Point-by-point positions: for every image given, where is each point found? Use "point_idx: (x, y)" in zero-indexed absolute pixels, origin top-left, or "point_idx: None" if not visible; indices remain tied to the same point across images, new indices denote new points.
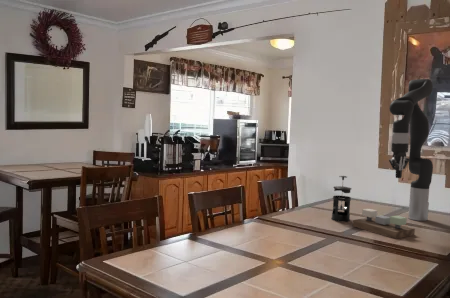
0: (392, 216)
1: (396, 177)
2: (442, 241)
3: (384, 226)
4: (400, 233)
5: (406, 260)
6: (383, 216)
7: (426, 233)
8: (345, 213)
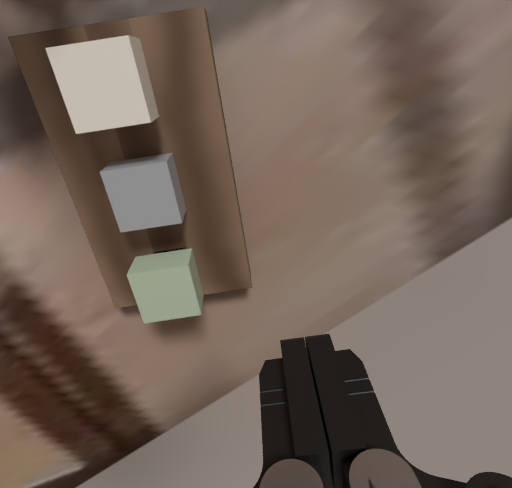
0: (138, 278)
1: (282, 349)
2: None
3: None
4: None
5: (7, 442)
6: (149, 190)
7: (330, 263)
8: None
